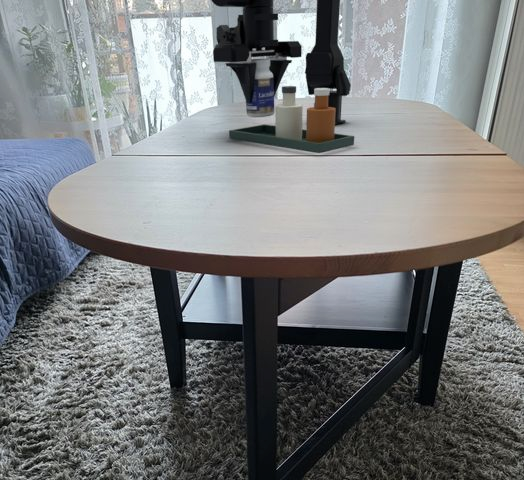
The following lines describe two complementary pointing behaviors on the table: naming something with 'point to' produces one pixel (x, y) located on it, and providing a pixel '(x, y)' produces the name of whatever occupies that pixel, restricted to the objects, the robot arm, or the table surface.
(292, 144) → the tray
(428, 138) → the table surface
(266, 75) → the pill bottle
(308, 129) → the amber bottle
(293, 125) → the white bottle
